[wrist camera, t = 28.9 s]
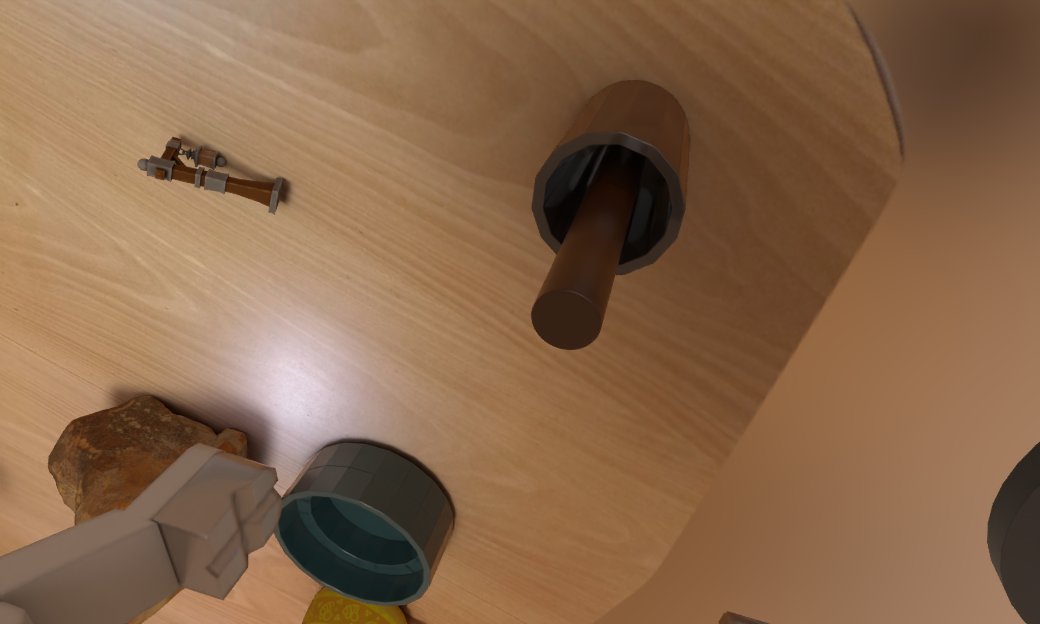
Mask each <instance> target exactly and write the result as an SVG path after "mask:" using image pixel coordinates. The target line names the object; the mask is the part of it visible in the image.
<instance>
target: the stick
mask: <svg viewBox="0 0 1040 624" xmlns="http://www.w3.org/2000/svg"><path fill="white" fill-rule="evenodd" d="M645 161H646V156H644V155H641V154H639V153H637V152H635V151H632V150H630V149H628V148H626V147H623V146H621V145H608V147H607V149H606V151H605V153H604V155H603V157H602V159H601V162H600V164H599V166H598V168H597V170H596V172H595V174H594V177H593V179H592V181H591V183H590V185H589V187H588V189H587V192H586V194H585V196H584V198H583V200H582V202H581V204H580V207H579V209H578V211H577V213H576V215H575V217H574V219H573V222H572V224H571V226H570V228H569V230H568V232H567V234H566V236H565V239H564V241H563V243H562V245H561V247H560V249H559V251H558V254H557V256H556V258H555V260H554V262H553V264H552V266H551V269H550V271H549V273H548V275H547V277H546V279H545V281H544V284H543V286H542V288H541V290H540V292H539V294H538V296H537V299H536V301H535V303H534V305H533V308H532V312H531V319H532V324H533V326H534V329H535V330H536V332H537V334H538V335H539V336H540V337H541V338H542V339H543V340H544V341H545V342H547V343H548V344H550V345H552V346H554V347H557V348H560V349H565V350H575V349H580V348H583V347H586V346H588V345H589V344H591V343H592V342H593V341H594V340H595V339H596V338H597V337H598V335H599V333H600V330H601V327H602V323H603V320H604V316H605V312H606V308H607V304H608V301H609V297H610V293H611V289H612V286H613V282H614V278H615V274H616V271H617V267H618V263H619V259H620V255H621V252H622V248H623V244H624V240H625V237H626V233H627V229H628V225H629V221H630V218H631V214H632V210H633V206H634V203H635V199H636V195H637V191H638V188H639V184H640V180H641V176H642V172H643V169H644V165H645Z"/></svg>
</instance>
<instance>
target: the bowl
mask: <svg viewBox="0 0 1040 624" xmlns="http://www.w3.org/2000/svg"><path fill="white" fill-rule="evenodd" d="M281 501H282V509H281V516H280V519H279V521H278V523H277V526H276V528H275V530H274V534H275V537H276V538H277V540H278V542H279V544H280V545H281V547H282V549H283V551H284V552H285V554H286V555H287V556H288V557H289V558H290V559H291V560H292V561H293V562H294V563H295V564H296V566H297V567H298V568H299V569H301V570H302V571H303V572H304V573H306V574H307V575H308V576H310V577H311V578H312V579H314V580H315V581H316V582H318V583H319V584H321V585H323V586H324V587H326V588H328V589H330V590H332V591H334V592H336V593H338V594H340V595H342V596H344V597H347V598H350V599H353V600H356V601H359V602H362V603H366V604H373V605H380V606H398V605H406V604H409V603H411V602H413V601H415V600H417V599H419V598H421V597H422V596H423V594H424V593H425V592H426V590H427V589H428V587H429V586H430V584H431V581H432V579H433V577H434V574H435V572H436V570H437V567H438V565H439V563H440V560H441V558H442V556H443V553H444V551H445V549H446V546H447V544H448V541H449V539H450V537H451V534H452V529H453V514H452V511H451V508H450V505H449V502H448V499H447V498H446V496H445V495H444V494H443V492H442V491H441V490H440V488H439V487H438V486H437V484H436V483H435V482H434V480H433V479H431V478H430V477H429V476H428V475H427V474H425V473H424V472H423V471H422V470H421V469H419V468H418V467H417V466H416V465H415V464H413V463H412V462H410V461H408V460H406V459H404V458H402V457H400V456H399V455H397V454H395V453H393V452H391V451H388V450H385V449H381V448H378V447H375V446H371V445H368V444H361V443H340V444H336V445H333V446H329V447H325V448H323V449H322V450H321V451H319V452H318V453H317V454H316V455H315V456H313V457H312V458H311V460H310V461H309V462H308V464H307V465H306V466H305V468H304V469H303V470H302V471H301V473H300V474H299V475H298V477H297V478H296V480H295V481H294V482H293V483H292V485H291V486H290V487H289V489H288V490H287V491H286V493H285V494H284V495H283V497H282V498H281Z"/></svg>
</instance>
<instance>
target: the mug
mask: <svg viewBox="0 0 1040 624" xmlns="http://www.w3.org/2000/svg"><path fill="white" fill-rule="evenodd" d="M302 624H407V621H406V619H405V616H404V614H403V612H402V611H401V609H400V608H399V607H398V606H380V605H373V604H366V603H362V602H359V601H356V600H353V599H350V598H347V597H344V596H342V595H340V594H338V593H336V592H334V591H332V590H330V589H328V588H326V587H323V588H322V589H321V590H320V591H319V592H318V593H317V594H316V595H315V597H314V598H313V600H312V602H311V604H310V606H309V608H308V610H307V612H306V615H305V617H304V619H303V622H302Z"/></svg>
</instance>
